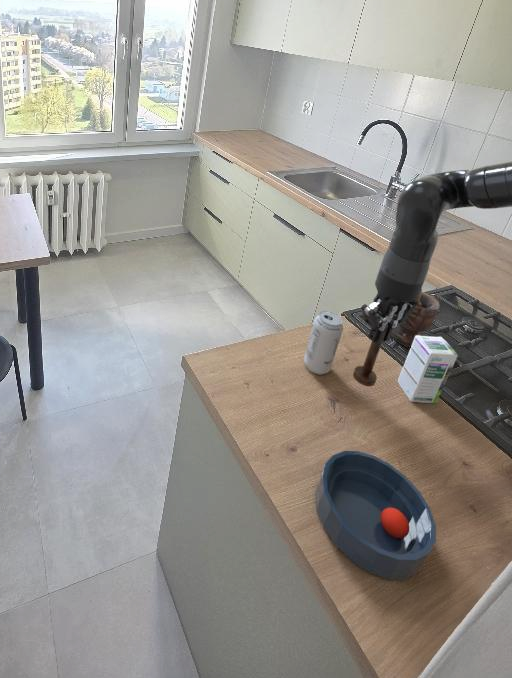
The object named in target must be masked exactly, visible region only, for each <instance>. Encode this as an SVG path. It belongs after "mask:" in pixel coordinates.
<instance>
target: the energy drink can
mask: <svg viewBox="0 0 512 678" xmlns="http://www.w3.org/2000/svg"><path fill="white" fill-rule="evenodd" d="M343 330H344V326H343V319H342V318H341V316H340V315H338V314H337V313H335V312H333V311H330V310H329V311H328V310H324V311H320V312H319V314H318V315H317V316H315V318H314V321H313V325H312V328H311V331H310V335H309V338H308V343H307V346H306V350H305V353H304V357H303V363H304V364H305V367H306V368H307V369H308V371H310V372H311V373H313V374H316V375H320V376H321V375H322V376H323V375H325V374H327V373H329V372H330V371H331V369H332V365H333V362H334V359H335V356H336V353H337V350H338V346H339V343H340V341H341V337H342V335H343Z"/></svg>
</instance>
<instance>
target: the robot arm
mask: <svg viewBox="0 0 512 678" xmlns="http://www.w3.org/2000/svg"><path fill="white" fill-rule="evenodd" d="M397 199H398V200H397V203H396V213H395V228H394V230H393V232H392V236H391V238H390V241H389V244H388V247H387V249H386V251H385V252H384V255H383V258H382V261H381V263H380V266H379V269H378V272H377V276H376V279H375V282H374V285H375V288H376V290H377V293H376V294H375V296H374V298H373V302H372V303H371V304H369V305H367V304H366V303H364V304H363V305H362V306H361V307H360V308H361V312H362V316H363V320H364V323H365V324H367V325H368V326H369V327H370V330H369V333H368V338H369V340H370V341H371V342H372V341H373V342H374V343H375V344H378V343H380V341H381V338H382V335H383V332H384V329H385V327H386V325H387V323H388V328H387V331H386V334H385V336H384V339H383V342H388V341H389V339H390V338H391V335H390V334H391V332H392V329H393V328H395V327H396V326H397V325H398V324H399V323H400V324H402V323H403V322H404V321H405V320H406V318H407V317H408V316H409V315H410V313H411V312H412V311H413V310H414V308H415V307H416V306H417V305H418V303H419V302H418V301H417V300H416V299H417V298H418V296H419V293H420V291H421V288H423V285H424V282H425V281H426V278H427V275H428V272H429V270H430V265H431V260H432V258H433V255H434V252H435V249H436V247H437V245H438V240H439V231H438V230H437V226H438V223H439V220H440V218H441V215H442V214H443V213H445V212H446V211H450V210H454V209H463V208H472V207H473V208H474V207H475V208H477V209H481V210H492V209H502V208H512V161H508V162H502V163H496V164H490V165H485V166H480V167H476V168H473V169H460V170H459V169H458V170H450V171H449V170H448V171H441V172H435V173H431V174H427V175H425V176H421V177H419V178H417V179H414V180H412V181H410V182H409V183H407V184H406V185H405V186H404V188H403V189H402V190H401V192H400V194H399V197H398V198H397ZM380 320H381V323H379V321H380Z"/></svg>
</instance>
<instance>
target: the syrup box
mask: <svg viewBox="0 0 512 678" xmlns="http://www.w3.org/2000/svg"><path fill="white" fill-rule="evenodd" d="M458 357H459V355H458V353H457V352H456V350H454V348H453V347H452V346H451V344H449V343H448V341H447V340H445V339H444V338H443V337H442V336H431V335H430V336H429V335H421V336H418V335H416V336H415V338H414V341H413V343H412V346H411V348H410V347H409V351H408V354H407V356H406V358H405V361H404V364H403V366H402V368H401V371H400V374H399V376H398V380H397V383H398V385H399V388H401V390H402V392H403V393H404V394H405V396H406V397H407V399H408V400H409V401H410V402H411V403H425V404H437V403H438V400H439V398H440V396H441V393H442V392H443V389H444V387H445V385H446V383H447V380H448V378H449V376H450V374H451V372H452V369H453V368H454V365H455V362H456V361H457V359H458Z"/></svg>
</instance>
